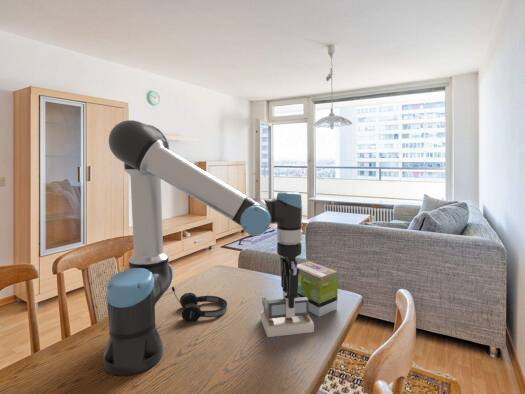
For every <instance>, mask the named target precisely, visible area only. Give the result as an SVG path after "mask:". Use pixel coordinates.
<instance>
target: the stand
mask: <svg viewBox="0 0 525 394" xmlns="http://www.w3.org/2000/svg"><path fill="white" fill-rule="evenodd" d="M260 320H261V324H262V326H263V329H264V332H265V334H266V338H273V337H274V338H275V337H281V336H291V335H299V334H309V333H314V332H315V322H314V321H313V319H312V318H311V316H310V315H302V316H295V317H287V318H286V317H282V318H271V319H269V318H268V316H267V314H266V311H265V309H264V308H263V310H261V311H260Z"/></svg>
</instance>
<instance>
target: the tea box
mask: <svg viewBox="0 0 525 394" xmlns="http://www.w3.org/2000/svg"><path fill="white" fill-rule="evenodd" d="M296 268H299V275H298V295H299V296H300V297H307V298H308V299H309V313H311V314H313V315H315V317H316V316H317V318H320V317H322V316H325V315H327V314H330V313H332V312H334V311H336V310H337V309H338V294H339V293H338V292H339V290H338V286H339V282H338V281H339V272H338V271H337V270H334V269H331V268H330V267H329V268H328V267H327V266H324V265H321V264H318V263H316V262H312V261H310V260H309V261H308V260H307V261H305V262H302V263H297V267H296ZM331 311H332V312H331ZM329 312H330V313H329Z"/></svg>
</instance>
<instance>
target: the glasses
mask: <svg viewBox="0 0 525 394" xmlns="http://www.w3.org/2000/svg"><path fill="white" fill-rule="evenodd" d="M261 303H262V306H263V310H264V309H265V311H266V314H267V316H268V318H269V319H271V318H282V317H286V299H283V298H279V299H268V300H267V298H266V297H261ZM309 313H310V312H309V299H308V298H307V297H300V296H299V295H297V298H295V316H302V315H309ZM309 316H310V315H309Z"/></svg>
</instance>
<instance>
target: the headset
mask: <svg viewBox="0 0 525 394" xmlns="http://www.w3.org/2000/svg"><path fill="white" fill-rule="evenodd" d="M171 291H172V292H173V293H174V296H175V298H176V299H177V301H178V302H179V304H180V306H181V307H182V309H181V310H182V311H181V318H182V319H183V320H184V321H185V322H191V323H192V322H196V321H198V320H200V318H217V317H221V316H224V314H225V313H226V312H227V310H228V309H227V308H228V307H227V306H228V302H227V301H226V300H225V299H224V298H222V297H220V296H215V295H200V296H197V294H195V293H193V292H187V293H186V292H185V293H184V294H183V295H181V296H180V298H178V297H177V295H176V293H175V291H176V289H175V286H172V287H171ZM206 302H208V303H214V304H217V305H219V306H222V307H221V308H218V309H214V310H202V309H201V307H200V305H198V303H206Z"/></svg>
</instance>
